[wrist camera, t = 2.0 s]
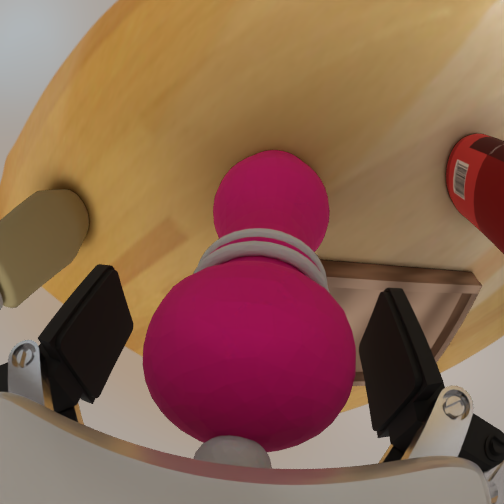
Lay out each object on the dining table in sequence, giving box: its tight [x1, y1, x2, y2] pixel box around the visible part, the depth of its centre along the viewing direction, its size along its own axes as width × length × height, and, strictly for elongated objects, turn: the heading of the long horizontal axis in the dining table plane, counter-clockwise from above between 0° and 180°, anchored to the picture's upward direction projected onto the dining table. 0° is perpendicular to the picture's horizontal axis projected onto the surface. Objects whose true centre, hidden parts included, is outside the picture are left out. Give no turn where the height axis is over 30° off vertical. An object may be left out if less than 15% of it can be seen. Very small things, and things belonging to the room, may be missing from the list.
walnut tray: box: [320, 260, 482, 386], centre depth 26 cm, size 20×16×2 cm
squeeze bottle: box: [0, 189, 89, 309], centre depth 17 cm, size 8×8×18 cm
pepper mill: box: [143, 150, 356, 469], centre depth 12 cm, size 7×7×20 cm
